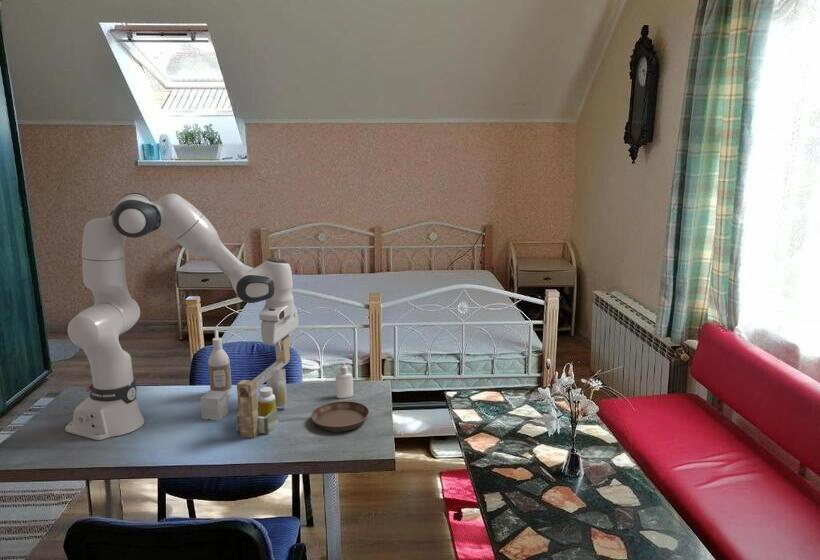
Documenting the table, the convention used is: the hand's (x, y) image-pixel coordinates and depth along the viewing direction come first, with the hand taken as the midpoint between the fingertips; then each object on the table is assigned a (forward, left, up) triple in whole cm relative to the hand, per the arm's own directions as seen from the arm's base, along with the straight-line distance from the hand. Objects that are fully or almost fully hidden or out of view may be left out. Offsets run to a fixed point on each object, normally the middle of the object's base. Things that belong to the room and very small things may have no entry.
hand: (282, 349), depth 205 cm
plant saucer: (+23, -10, -19) cm, 31 cm away
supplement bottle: (0, -13, -18) cm, 23 cm away
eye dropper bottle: (+18, +8, -18) cm, 27 cm away
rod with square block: (0, -11, -17) cm, 20 cm away
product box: (-17, -15, -18) cm, 29 cm away
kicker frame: (0, -20, -18) cm, 27 cm away
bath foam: (-24, 0, -18) cm, 30 cm away
